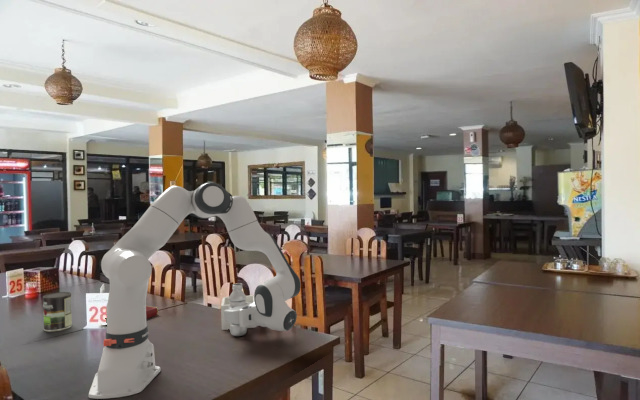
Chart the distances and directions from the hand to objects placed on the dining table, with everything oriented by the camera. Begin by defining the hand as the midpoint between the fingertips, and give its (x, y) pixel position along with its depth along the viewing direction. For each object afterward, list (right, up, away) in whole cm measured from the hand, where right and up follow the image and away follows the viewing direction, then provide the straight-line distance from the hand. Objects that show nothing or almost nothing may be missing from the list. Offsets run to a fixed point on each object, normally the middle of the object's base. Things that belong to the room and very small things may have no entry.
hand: (236, 306), depth 161 cm
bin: (-2, -11, +14) cm, 18 cm away
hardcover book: (-52, -12, +23) cm, 59 cm away
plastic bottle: (+1, -11, 0) cm, 11 cm away
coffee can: (-79, -13, +14) cm, 81 cm away
